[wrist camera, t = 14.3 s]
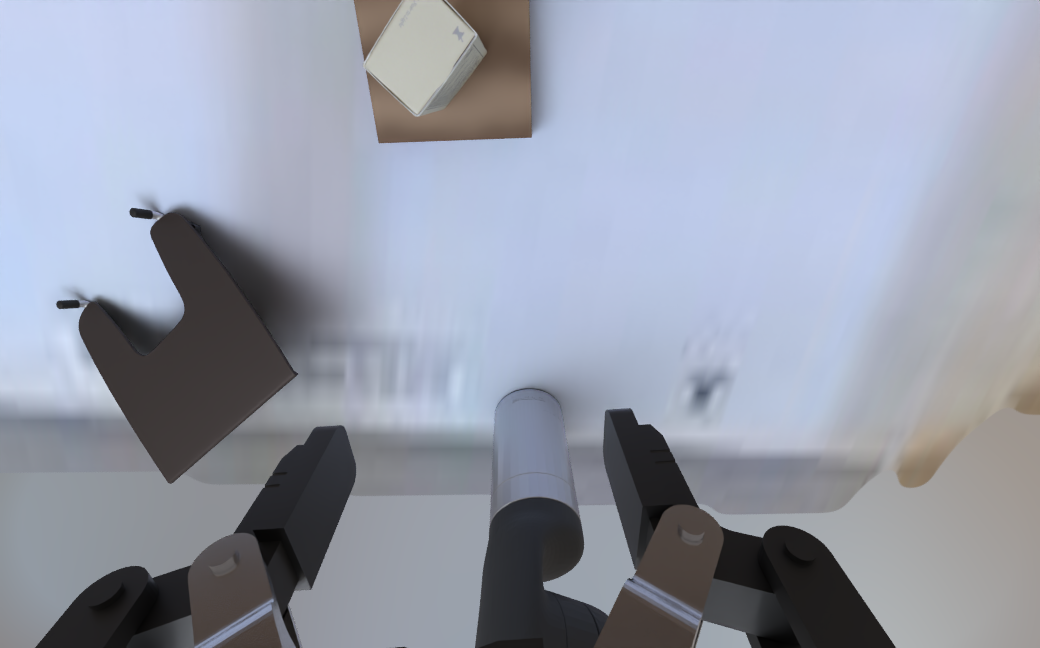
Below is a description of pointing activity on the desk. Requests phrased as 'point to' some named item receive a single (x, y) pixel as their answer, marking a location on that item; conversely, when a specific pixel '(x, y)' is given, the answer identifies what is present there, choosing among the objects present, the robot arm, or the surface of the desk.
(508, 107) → the walnut stand
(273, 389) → the portable electronic device stand
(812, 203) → the desk surface
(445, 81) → the skincare box
